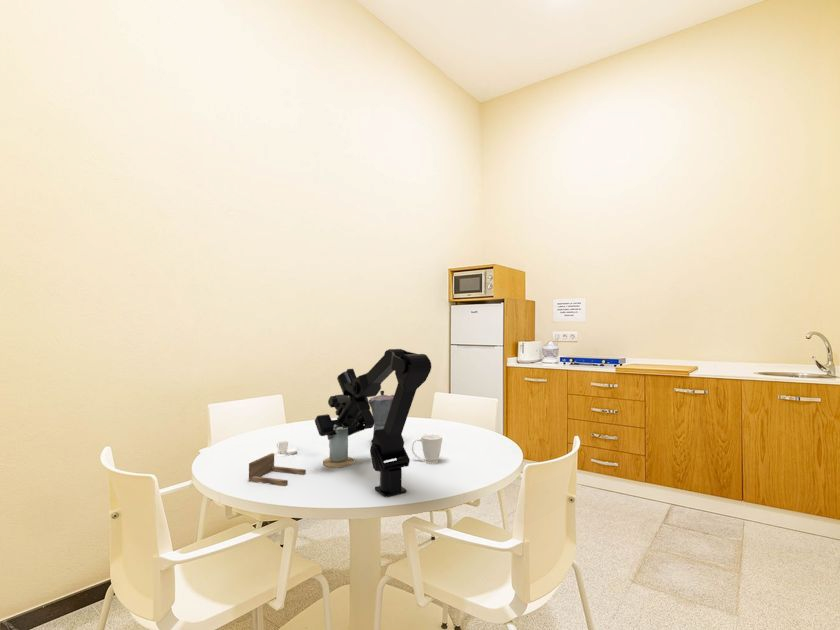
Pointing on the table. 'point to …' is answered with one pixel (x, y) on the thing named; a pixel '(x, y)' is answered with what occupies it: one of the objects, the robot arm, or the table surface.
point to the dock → (269, 470)
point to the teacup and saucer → (284, 449)
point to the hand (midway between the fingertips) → (337, 437)
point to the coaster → (338, 462)
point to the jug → (339, 445)
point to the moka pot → (380, 409)
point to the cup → (430, 447)
